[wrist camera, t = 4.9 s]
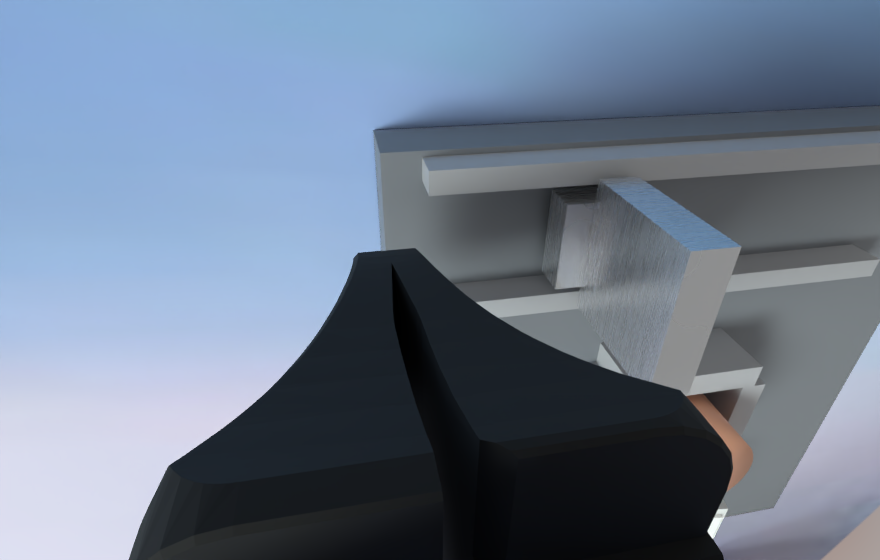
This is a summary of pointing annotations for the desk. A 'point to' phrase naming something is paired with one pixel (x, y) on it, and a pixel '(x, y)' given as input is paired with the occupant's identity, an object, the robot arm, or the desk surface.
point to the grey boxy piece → (640, 274)
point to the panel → (705, 195)
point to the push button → (726, 438)
